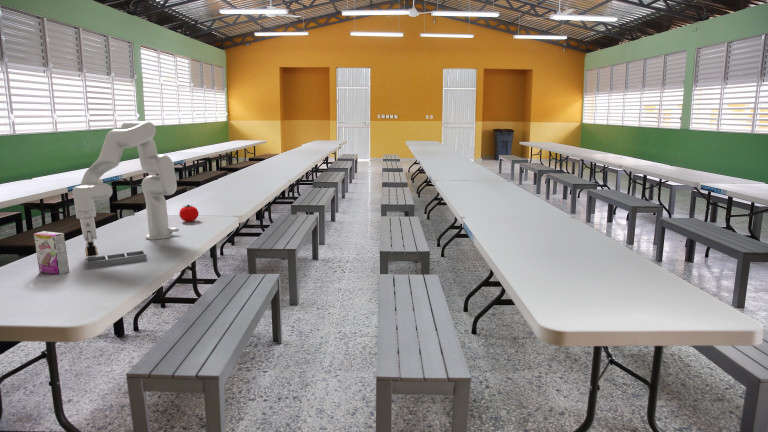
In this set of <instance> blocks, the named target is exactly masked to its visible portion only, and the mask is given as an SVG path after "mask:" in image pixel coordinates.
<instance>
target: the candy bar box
mask: <svg viewBox="0 0 768 432" xmlns="http://www.w3.org/2000/svg"><path fill="white" fill-rule="evenodd" d="M33 241H34V246H35V251H36V252H35V253H36V257H37V263H38V271H39V273H43V274H51V275H58V276H60V275H63V274H67V273H69V272H70V268H69V267H70V266H69V261H68V251H67V247H66V246H67V245H66V239H65V233H64V232H55V231H54V232H53V231H46V230H43V231H39V232H35V233H33Z"/></svg>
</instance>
